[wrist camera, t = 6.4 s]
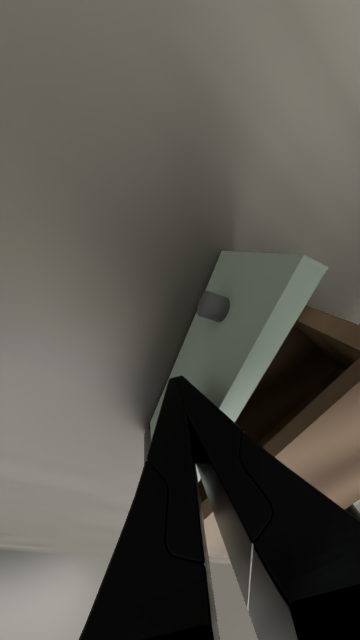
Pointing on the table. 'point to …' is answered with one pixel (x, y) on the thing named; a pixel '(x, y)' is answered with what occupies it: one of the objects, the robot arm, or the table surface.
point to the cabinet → (307, 411)
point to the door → (242, 326)
